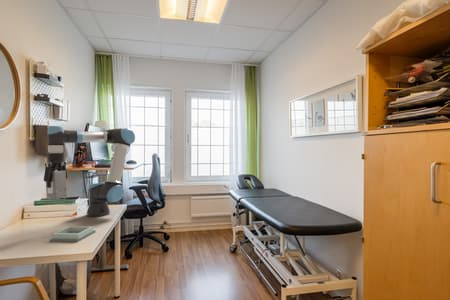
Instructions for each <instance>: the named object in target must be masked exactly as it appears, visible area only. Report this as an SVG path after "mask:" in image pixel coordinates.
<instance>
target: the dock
mask: <svg viewBox="0 0 450 300" xmlns="http://www.w3.org/2000/svg"><path fill="white" fill-rule="evenodd" d="M95 233H96V229H95V230H94V226H77V225H75V226H71V225H70V226H67V227H65V228H63V229H60V230H58V231H55V232H54V233H52V238H50V239H49V242H55V243H57V242H58V243H60V242H61V243H79V242H81V241H82V240H84V239H86V238H87V237H90V236H91V235H94V234H95Z"/></svg>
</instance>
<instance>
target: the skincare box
mask: <svg viewBox="0 0 450 300" xmlns="http://www.w3.org/2000/svg"><path fill="white" fill-rule="evenodd" d="M66 171H67V170H66ZM66 171H57V170H56V171H54V172H52V173H53V179H52V182H53V193H48V188H47V182H45V187H46V188H45V189H46V190H45V191H46V200H59V199H63V198H67V197H68V195H67V194H68V192H67V191H68V190H67V179H66Z"/></svg>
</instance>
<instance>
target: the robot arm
mask: <svg viewBox="0 0 450 300" xmlns="http://www.w3.org/2000/svg"><path fill="white" fill-rule="evenodd" d="M135 141H136V135H135V132H134V131H133V130H132V129H131V128H129V127H126V128H125V127H122V128H113V129H111V128H110V129H106V130H105V129H104V130H103V129H102V130H99V131H80V130H66V129H64V126H61V125H49V126H48V127H47V152H48V154H47V160H49V162H45V164H44V175H43V182H45V183H46V182H47V188H48V193H53V182H52V179H53V173H52V172H54V171H66V180H67V179H68V172H67V171H68V170H67V166H66V165H67V162H66V161H63V160H64V150H65V149H64V144H81V143H101V144H112V145H113V146H114V150H113V155H112V160H111V164H110V169H109V173H108V177H107V179H106V180H105V181H102V182H97V183H95V182H94V183H91V184H89V188H88V191H89V194H88V198H89V203H88V204H89V206H88V207H87V211H86V216H87V217H91V218H97V217H103V216H107V215H110V213H111V210H110V208H109V204H108V202H110V203H116V202H117V203H118V202H119V201H120V200H121V199H122V198H123V197H124V195H125V189H124V186H123V183H122V177H123V171H124V166H125V162H126V158H127V157H126V156H127V153H128V149H130V148H131V145H132V144H133V143H135Z"/></svg>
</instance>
